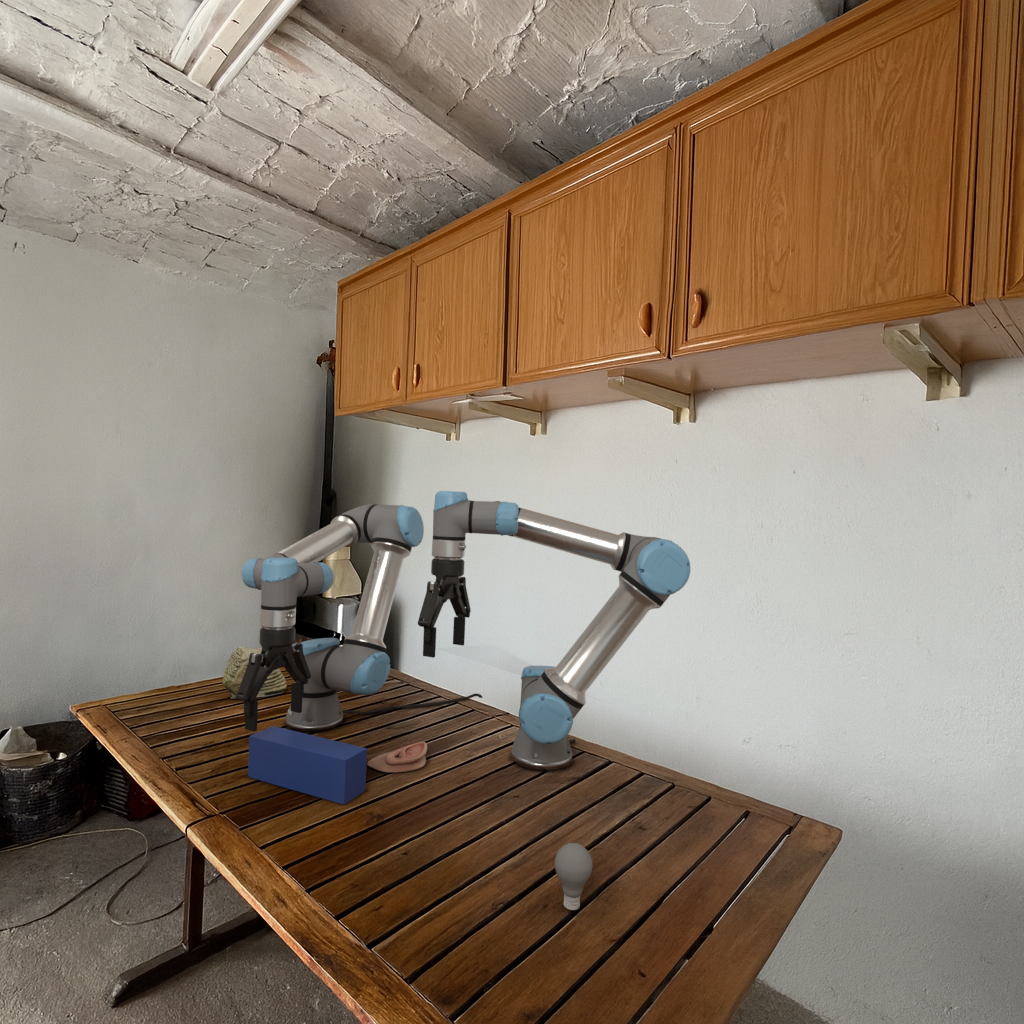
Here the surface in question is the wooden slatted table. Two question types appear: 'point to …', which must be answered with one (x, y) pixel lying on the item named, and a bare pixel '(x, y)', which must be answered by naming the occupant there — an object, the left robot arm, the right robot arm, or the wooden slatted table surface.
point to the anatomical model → (401, 759)
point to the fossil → (237, 670)
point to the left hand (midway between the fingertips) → (274, 720)
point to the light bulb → (573, 872)
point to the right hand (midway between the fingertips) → (444, 650)
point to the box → (308, 764)
